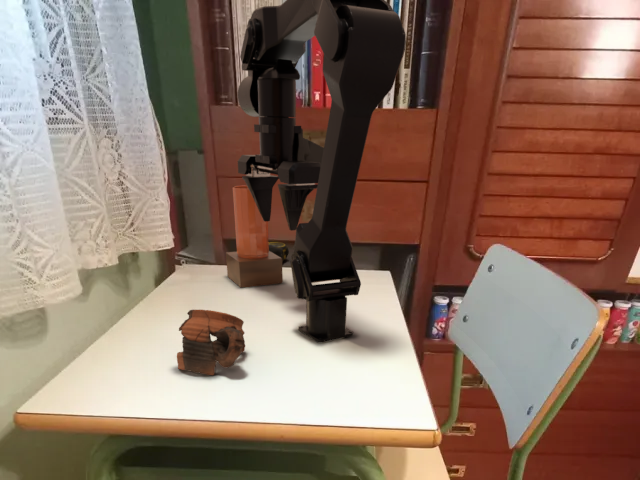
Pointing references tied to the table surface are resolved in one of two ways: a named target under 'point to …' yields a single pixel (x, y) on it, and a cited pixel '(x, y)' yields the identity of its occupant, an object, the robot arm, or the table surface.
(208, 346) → the pottery mug
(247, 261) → the block
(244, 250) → the tumbler
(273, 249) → the tape measure
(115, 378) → the table surface
